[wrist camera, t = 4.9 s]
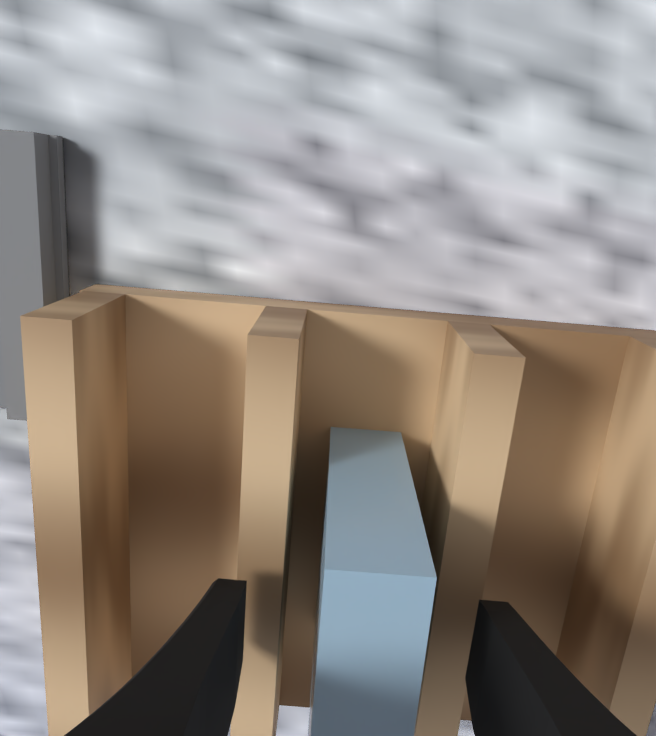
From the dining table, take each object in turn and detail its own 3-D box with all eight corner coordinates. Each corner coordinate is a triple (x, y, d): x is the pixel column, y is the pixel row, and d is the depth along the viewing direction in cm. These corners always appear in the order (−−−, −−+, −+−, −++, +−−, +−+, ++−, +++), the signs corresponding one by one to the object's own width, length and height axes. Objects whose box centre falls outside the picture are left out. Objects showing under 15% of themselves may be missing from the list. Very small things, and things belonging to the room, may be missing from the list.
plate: (378, 627, 17) (396, 850, 11) (314, 622, 17) (301, 843, 11) (400, 432, 15) (436, 577, 10) (330, 427, 15) (324, 569, 10)
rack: (564, 701, 19) (621, 831, 15) (107, 664, 19) (47, 786, 15) (653, 330, 15) (757, 376, 12) (96, 284, 15) (15, 315, 12)
